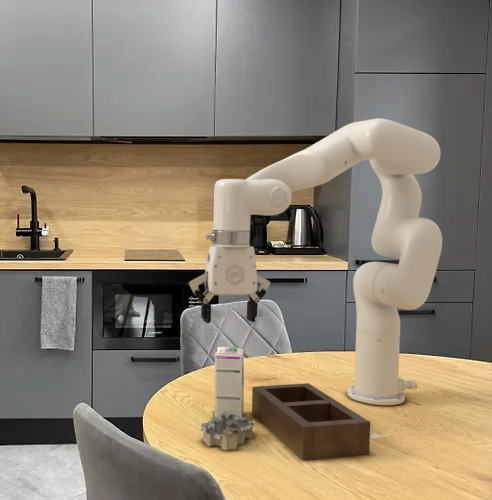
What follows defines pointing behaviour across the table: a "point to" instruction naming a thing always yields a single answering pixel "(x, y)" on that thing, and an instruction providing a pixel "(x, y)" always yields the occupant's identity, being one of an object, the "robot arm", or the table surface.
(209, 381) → the table surface
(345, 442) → the holder
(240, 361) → the syrup box
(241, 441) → the egg carton
